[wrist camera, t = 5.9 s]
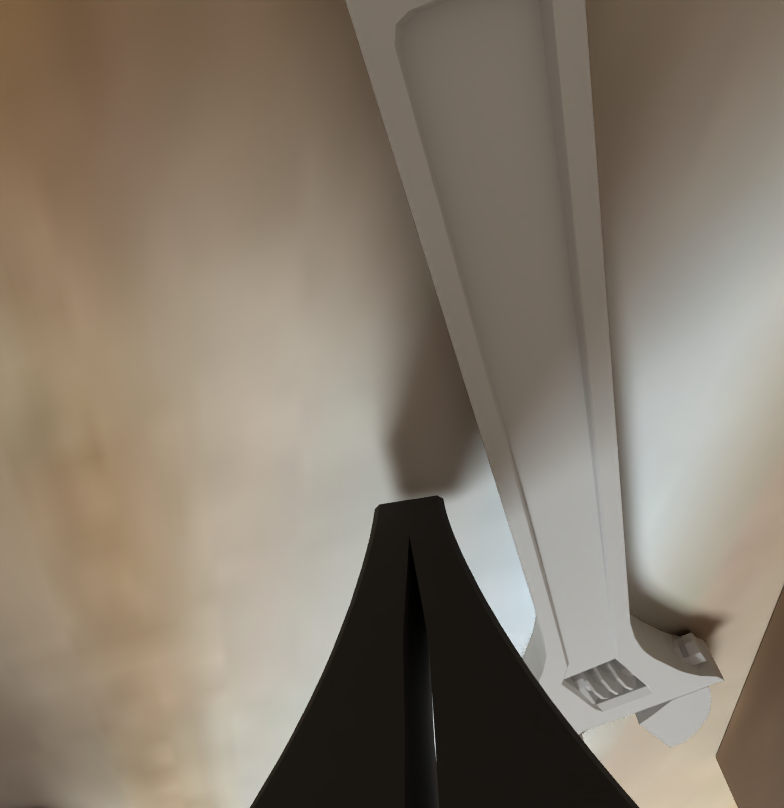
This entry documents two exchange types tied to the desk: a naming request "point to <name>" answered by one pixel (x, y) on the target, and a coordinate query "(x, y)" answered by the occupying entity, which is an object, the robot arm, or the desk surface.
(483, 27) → the adjustable wrench
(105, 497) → the desk surface
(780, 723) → the walnut bar
